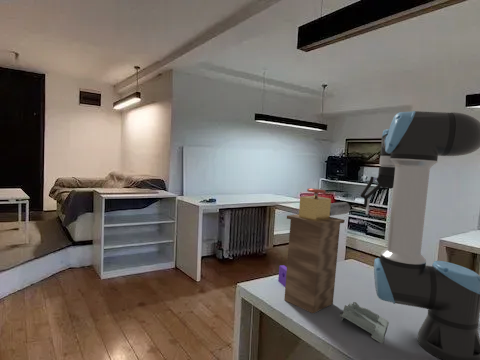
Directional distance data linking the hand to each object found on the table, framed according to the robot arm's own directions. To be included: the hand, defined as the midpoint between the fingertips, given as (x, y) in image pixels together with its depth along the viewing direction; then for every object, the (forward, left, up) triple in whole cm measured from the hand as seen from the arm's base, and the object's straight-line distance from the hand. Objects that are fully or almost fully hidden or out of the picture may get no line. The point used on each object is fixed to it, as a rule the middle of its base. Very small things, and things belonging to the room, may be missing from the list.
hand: (383, 216), depth 139 cm
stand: (-36, +26, -28) cm, 53 cm away
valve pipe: (-30, +23, +2) cm, 38 cm away
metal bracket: (-45, +9, -29) cm, 54 cm away
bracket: (-21, +33, -29) cm, 48 cm away
